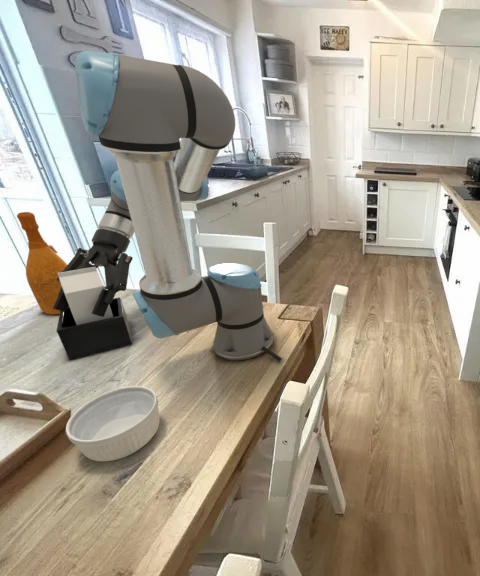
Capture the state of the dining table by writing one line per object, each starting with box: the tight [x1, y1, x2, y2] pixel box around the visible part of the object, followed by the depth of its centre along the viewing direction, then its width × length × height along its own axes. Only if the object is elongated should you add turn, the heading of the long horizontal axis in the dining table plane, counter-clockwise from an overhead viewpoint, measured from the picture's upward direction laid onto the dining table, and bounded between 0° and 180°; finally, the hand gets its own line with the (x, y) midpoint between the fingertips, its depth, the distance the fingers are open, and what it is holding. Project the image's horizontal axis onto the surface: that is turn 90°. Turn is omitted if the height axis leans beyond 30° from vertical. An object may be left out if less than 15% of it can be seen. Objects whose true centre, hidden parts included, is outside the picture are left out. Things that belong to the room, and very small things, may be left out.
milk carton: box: [57, 267, 113, 325], centre depth 83 cm, size 7×7×19 cm
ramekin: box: [65, 385, 160, 462], centre depth 61 cm, size 13×13×7 cm
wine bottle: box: [16, 211, 69, 315], centre depth 94 cm, size 10×10×30 cm
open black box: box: [56, 296, 133, 361], centre depth 86 cm, size 13×13×9 cm
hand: (78, 312), depth 81 cm, fingers closed on milk carton, 10 cm apart
